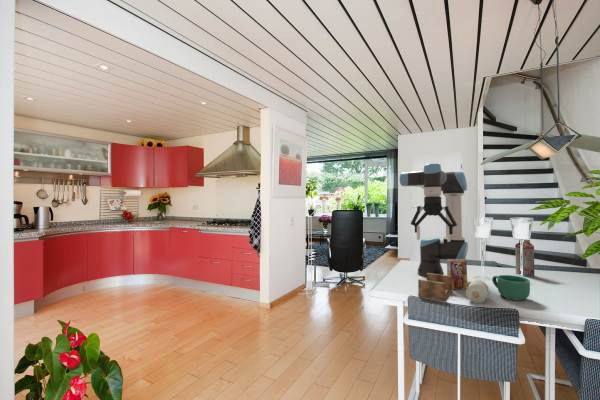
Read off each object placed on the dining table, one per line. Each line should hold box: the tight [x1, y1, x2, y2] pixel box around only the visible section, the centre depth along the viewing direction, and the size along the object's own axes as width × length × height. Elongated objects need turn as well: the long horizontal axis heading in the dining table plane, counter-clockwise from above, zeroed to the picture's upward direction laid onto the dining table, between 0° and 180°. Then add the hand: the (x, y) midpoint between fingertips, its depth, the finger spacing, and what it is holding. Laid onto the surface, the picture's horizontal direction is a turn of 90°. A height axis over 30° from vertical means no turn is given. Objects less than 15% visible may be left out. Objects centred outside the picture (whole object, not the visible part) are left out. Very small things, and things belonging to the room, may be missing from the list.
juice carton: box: [514, 239, 535, 277], centre depth 184 cm, size 7×7×22 cm
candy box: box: [446, 259, 469, 290], centre depth 157 cm, size 9×4×15 cm, turn 89°
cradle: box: [417, 273, 453, 302], centre depth 148 cm, size 12×18×8 cm, turn 143°
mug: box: [491, 274, 531, 301], centre depth 142 cm, size 17×13×10 cm
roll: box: [465, 279, 489, 304], centre depth 138 cm, size 12×8×8 cm, turn 143°
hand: (433, 240), depth 140 cm, fingers open, 13 cm apart
